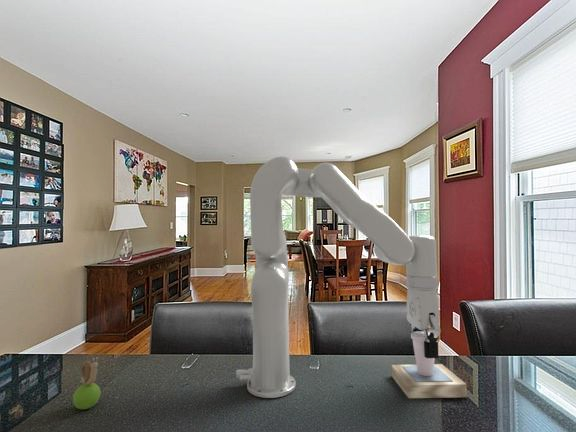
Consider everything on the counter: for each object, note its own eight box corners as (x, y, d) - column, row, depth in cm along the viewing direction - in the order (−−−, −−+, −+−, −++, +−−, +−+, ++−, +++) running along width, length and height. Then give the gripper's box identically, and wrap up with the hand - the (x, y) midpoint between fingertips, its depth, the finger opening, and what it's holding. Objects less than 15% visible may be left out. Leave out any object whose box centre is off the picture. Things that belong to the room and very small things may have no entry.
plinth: (408, 398, 75) (408, 384, 75) (391, 376, 87) (391, 364, 87) (467, 397, 75) (466, 383, 75) (442, 375, 87) (441, 363, 87)
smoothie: (442, 379, 77) (439, 322, 78) (414, 377, 79) (412, 320, 79) (435, 368, 83) (433, 315, 84) (410, 366, 85) (408, 314, 86)
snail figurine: (81, 418, 68) (83, 361, 69) (67, 410, 72) (69, 356, 73) (107, 406, 73) (108, 353, 74) (92, 399, 76) (94, 349, 77)
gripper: (396, 278, 91) (398, 341, 90) (421, 288, 74) (425, 366, 73) (421, 278, 91) (424, 341, 90) (453, 287, 74) (457, 365, 73)
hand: (424, 351), depth 81 cm, fingers open, 6 cm apart
